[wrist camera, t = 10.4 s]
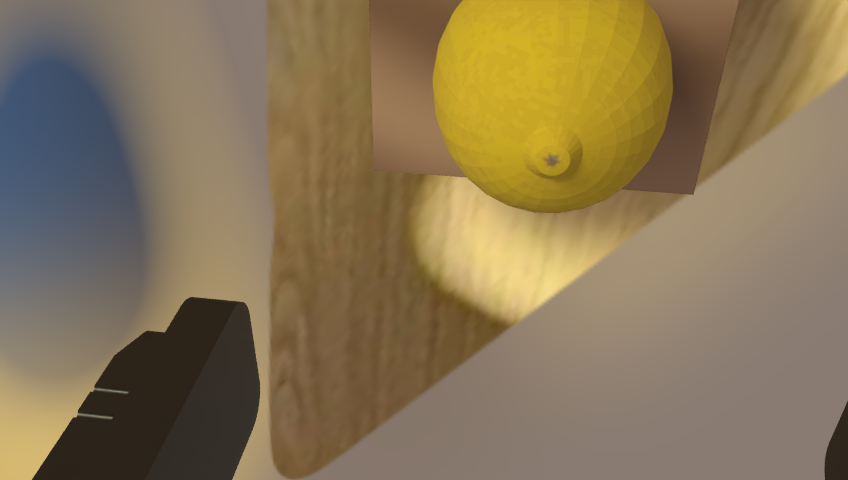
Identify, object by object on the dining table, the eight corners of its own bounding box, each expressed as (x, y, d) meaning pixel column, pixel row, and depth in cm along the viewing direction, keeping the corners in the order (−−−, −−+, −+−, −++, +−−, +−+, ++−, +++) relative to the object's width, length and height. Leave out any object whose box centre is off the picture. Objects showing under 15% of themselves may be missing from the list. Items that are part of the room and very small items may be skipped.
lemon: (669, -74, 20) (732, 35, 14) (630, 122, 23) (666, 288, 17) (454, -87, 21) (415, 12, 14) (444, 107, 24) (408, 262, 17)
